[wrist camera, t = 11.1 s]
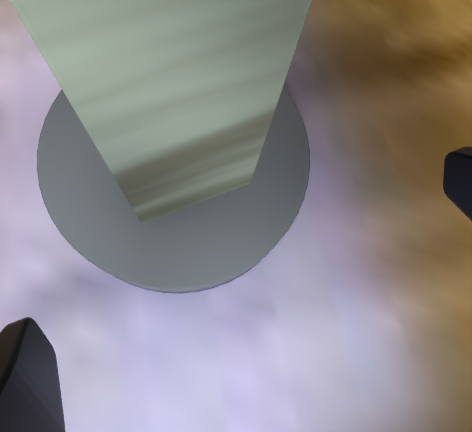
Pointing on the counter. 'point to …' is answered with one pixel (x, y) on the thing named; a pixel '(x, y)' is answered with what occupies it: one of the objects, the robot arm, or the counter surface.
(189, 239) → the slate plinth
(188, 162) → the sage block
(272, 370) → the counter surface
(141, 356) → the counter surface
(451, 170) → the robot arm
